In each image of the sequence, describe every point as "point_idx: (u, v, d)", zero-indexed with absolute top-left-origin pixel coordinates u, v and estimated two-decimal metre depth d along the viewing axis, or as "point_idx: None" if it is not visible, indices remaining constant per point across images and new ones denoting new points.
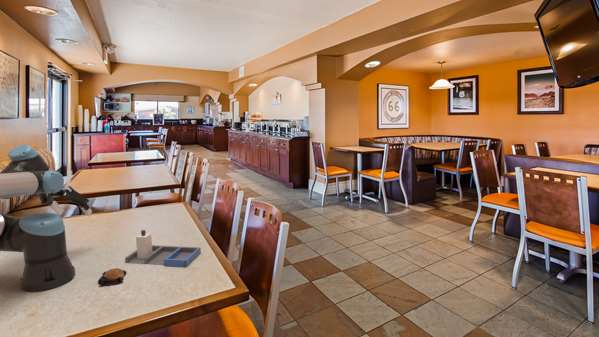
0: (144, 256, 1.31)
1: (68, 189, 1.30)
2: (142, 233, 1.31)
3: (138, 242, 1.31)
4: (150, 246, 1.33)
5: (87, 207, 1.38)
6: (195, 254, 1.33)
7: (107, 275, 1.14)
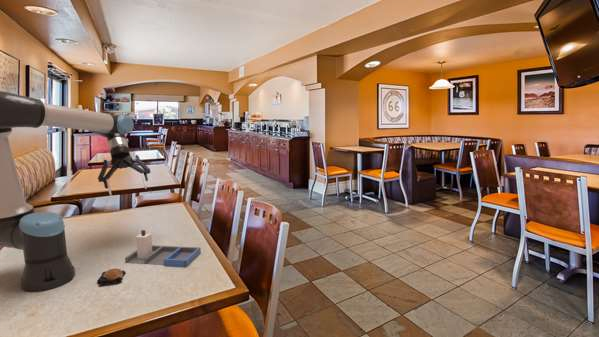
0: (144, 256, 1.31)
1: None
2: (142, 233, 1.31)
3: (138, 242, 1.31)
4: (150, 246, 1.33)
5: None
6: (195, 254, 1.33)
7: (106, 275, 1.14)
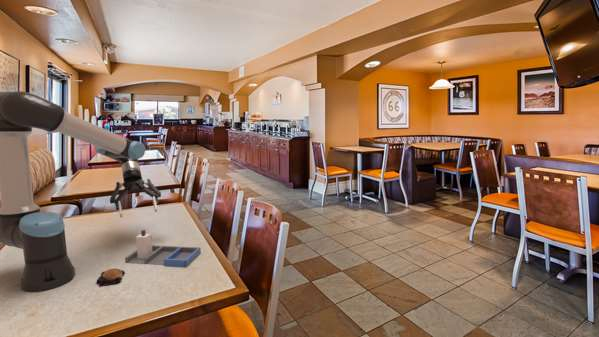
0: (144, 256, 1.31)
1: None
2: (142, 233, 1.31)
3: (138, 242, 1.31)
4: (150, 246, 1.33)
5: None
6: (195, 254, 1.33)
7: (105, 275, 1.14)
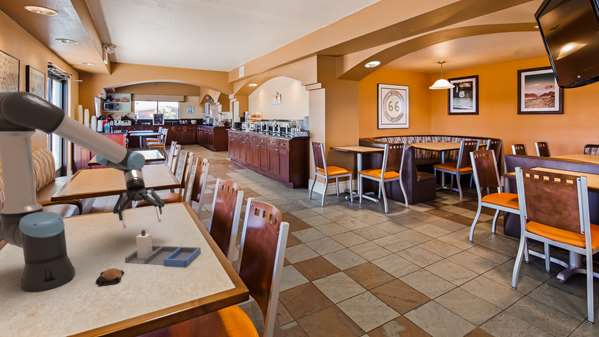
0: (144, 256, 1.31)
1: None
2: (142, 233, 1.31)
3: (138, 242, 1.31)
4: (150, 246, 1.33)
5: (161, 211, 1.46)
6: (195, 254, 1.33)
7: (105, 275, 1.14)
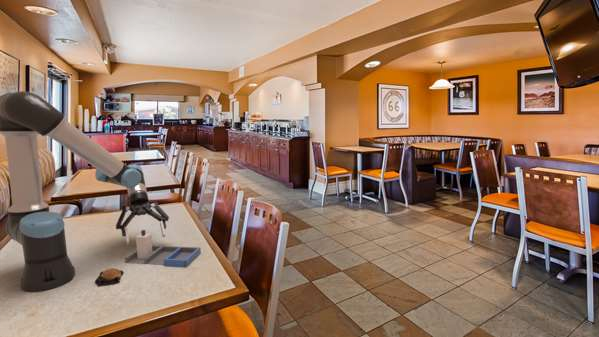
0: (144, 256, 1.31)
1: None
2: (142, 233, 1.31)
3: (138, 242, 1.31)
4: (150, 246, 1.33)
5: (165, 225, 1.41)
6: (195, 254, 1.33)
7: (104, 275, 1.14)
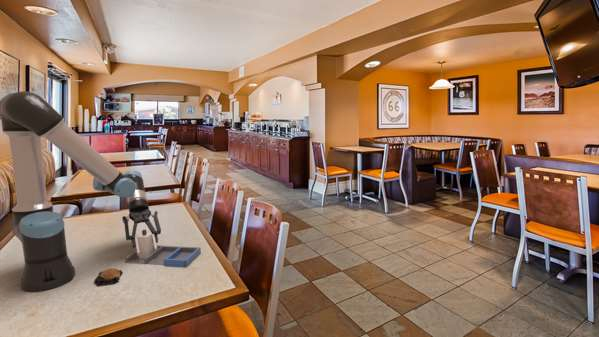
0: (146, 256, 1.32)
1: None
2: (143, 233, 1.31)
3: (139, 242, 1.31)
4: (151, 245, 1.34)
5: (157, 238, 1.35)
6: (195, 254, 1.33)
7: (103, 275, 1.14)
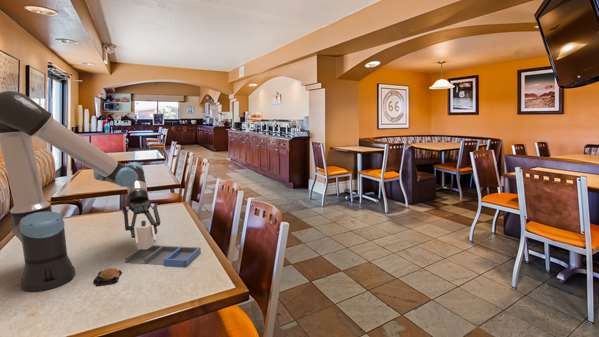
0: (144, 247, 1.31)
1: None
2: (142, 224, 1.31)
3: (138, 232, 1.30)
4: (150, 237, 1.33)
5: (156, 230, 1.34)
6: (195, 254, 1.33)
7: (102, 275, 1.14)
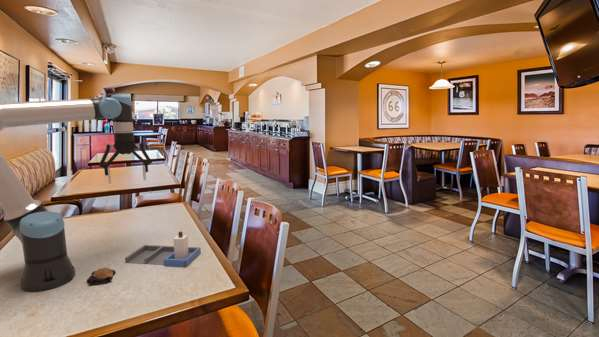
0: (182, 258, 1.29)
1: (142, 144, 1.45)
2: (179, 235, 1.29)
3: (175, 244, 1.29)
4: (186, 248, 1.31)
5: (147, 169, 1.47)
6: (195, 254, 1.33)
7: (96, 274, 1.14)
